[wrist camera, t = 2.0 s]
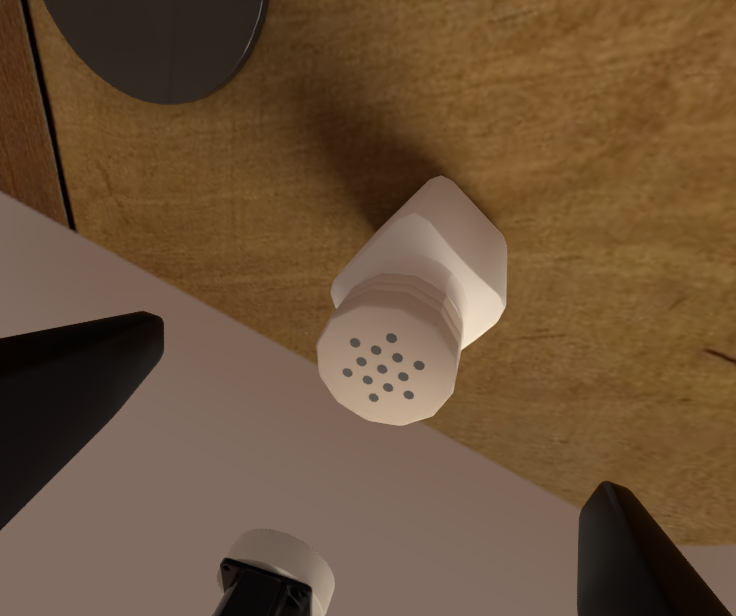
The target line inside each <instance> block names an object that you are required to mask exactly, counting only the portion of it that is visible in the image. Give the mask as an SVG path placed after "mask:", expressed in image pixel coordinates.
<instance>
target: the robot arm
mask: <svg viewBox="0 0 736 616" xmlns="http://www.w3.org/2000/svg"><path fill="white" fill-rule="evenodd" d="M163 352H164V322H163V320H162V318H160V317H159V316H156V315H154V314H151V313H148V312H145V311H140V312H135V313H129V314H124V315H119V316H114V317H109V318H104V319H99V320H93V321H88V322H83V323H78V324H73V325H67V326H63V327H57V328H52V329H47V330H42V331H36V332H31V333H26V334H21V335H16V336H11V337H5V338H0V530H1V529H2V528H3V527H4V526H5V525H6V524H7V523H8V522H9V521H10V520H11V519H12V518H13V517H14V516H15V515H16V514H17V513H18V512H19V511H20V510H21V509H22V508H23V507H24V506H25V505H26V504H27V503H28V502H29V501H30V500H31V499H32V498H33V497H34V496H35V495H36V494H37V493H38V492H39V491H40V490H41V489H42V488H43V487H44V486H45V485H46V484H47V483H48V482H49V481H50V480H51V479H52V478H53V477H54V476H55V475H56V474H57V473H58V472H59V471H60V470H61V469H62V468H63V467H64V466H65V465H66V464H67V463H68V462H69V461H70V460H71V459H72V458H73V457H74V456H75V455H76V454H77V453H78V452H79V451H80V450H81V449H82V448H83V447H84V446H85V445H86V444H87V443H88V442H89V441H90V440H91V439H92V438H93V437H94V436H95V435H96V434H97V433H98V432H99V431H100V430H101V429H102V428H103V427H104V426H105V425H106V424H107V423H108V422H109V421H110V420H111V419H112V418H113V417H114V415H115V414H116V413H117V412H118V411H119V409H121V407H122V406H123V405H124V404H125V402H126V401H127V400H128V399H129V398H130V396H131V395H132V394H133V393H134V391H135V390H136V389H137V388H138V387H139V385H140V384H141V383H142V382H143V380H144V379H145V378H146V377H147V375H148V374H149V373H150V372H151V370H152V369H153V368H154V367H155V366H156V364H157V363H158V362H159V361H160V359H161V357H162V355H163ZM220 569H221V576H222V583H223V590H224V595H223V597H222V599H221V601H220V603H219V605H218V606H217V608H216V610H215V612H214V613H213V615H212V616H312V598H313V590H312V588H311V587H310V586H309V585H307V584H305V583H302V582H299V581H296V580H293V579H290V578H287V577H284V576H281V575H278V574H275V573H273V572H270V571H267V570H264V569H261V568H258V567H255V566H252V565H249V564H246V563H243V562H240V561H237V560H234V559H231V558H224V559H223V561H222V562H221V564H220ZM577 579H578V580H577V610H578V616H732V615H731V614H730V612H729V611H728V610H727V609H726V608H725V606H724V605H723V604H722V603H721V601H720V600H719V599H718V598H717V596H716V595H715V594H714V593H713V591H712V590H711V589H710V588H709V587H708V585H707V584H706V583H705V582H704V581H703V579H702V578H701V577H700V576H699V574H698V573H697V572H696V571H695V569H694V568H693V567H692V566H691V564H690V563H689V562H688V561H687V559H686V558H685V557H684V556H683V555H682V553H681V552H680V551H679V550H678V548H677V547H676V546H675V545H674V543H673V542H672V541H671V540H670V539H669V537H668V536H667V535H666V534H665V532H664V531H663V530H662V529H661V527H660V526H659V525H658V524H657V522H656V521H655V520H654V519H653V518H652V516H651V515H650V514H649V513H648V511H647V510H646V509H645V508H644V506H643V505H642V504H641V503H640V502H639V500H638V499H637V498H636V497H635V495H634V494H633V493H632V492H631V491H630V490H629V489H628V488H626V487H623V486H621V485H618V484H615V483H612V482H610V481H603V482H602V483H600V485H599V486H598V487H597V488H596V490H595V491H594V493H593V494H592V495H591V497H590V498H589V500H588V501H587V502H586V504H585V505H584V507H583V508H582V510H581V513H580V517H579V541H578V578H577Z"/></svg>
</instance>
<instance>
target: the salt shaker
mask: <svg viewBox="0 0 736 616" xmlns="http://www.w3.org/2000/svg"><path fill="white" fill-rule="evenodd" d="M506 280H507V245H506V242H505V239H504V236H503V235H502V234H501V233H500V232H499V230H498V229H497V228H496V227H495V226H494V225H493V224H492V223H491V222H490V221H489V220H488V219H487V217H486V216H485V215H484V214H483V213H482V212H481V211H480V210H479V209H478V208H477V207H476V206H475V204H474V203H473V202H472V201H471V200H470V199H469V198H468V197H467V196H466V195H465V194H464V193H463V191H462V190H461V189H460V188H459V187H458V186H457V185H456V184H455V183H454V182H453V181H452V180H450V179H448V178H446V177H444V176H441V175H440V176H438V177H435V178H433V179H430V180H428V181H427V182H426V183H425V184H424V185H423V186H422V187H421V188H420V189H419V190H418V191H417V192H416V193H415V194H414V195H413V196H412V197H411V198H410V199H409V200H408V201H407V202H406V203H405V204H404V205H403V206H402V207H401V208H400V209H399V210H398V211H397V212H396V213H395V214H394V215H393V216H392V217H391V218H390V219H389V220H388V221H387V222H386V223H385V224H384V225H383V226H382V227H381V228H380V229H378V231H377V232H376V233H375V234H374V235H373V236H372V237H371V238H370V240H369V241H368V242H367V243H366V244H365V245H364V246H363V247H362V249H361V250H360V251H359V252H358V253H357V254H356V255H355V256H354V258H353V259H352V260H351V261H350V262H349V263H348V264H347V265H346V267H345V268H344V269H343V270H342V271H341V272H340V273H339V274H338V276H337V277H336V278H335V279H334V281H333V284H332V288H331V292H330V293H331V296H332V299H333V302H334V305H335V308H336V310H335V312H334V313H333V314H332V316H331V317H330V319H329V321H328V323H327V324H326V326H325V328H324V330H323V331H322V333H321V335H320V337H319V338H318V340H317V342H316V349H317V359H318V370H319V375H320V377H321V378H322V380H323V381H324V383H325V384H326V386H327V387H328V389H329V390H330V392H331V393H332V395H333V396H334V397H335V399H336V400H337V402H339V403H340V404H342V405H343V406H345V407H346V408H348V409H350V410H351V411H353V412H354V413H356V414H358V415H359V416H361V417H363V418H364V419H366V420H369V421H374V422H381V423H387V424H393V425H399V426H402V425H405V424H408V423H411V422H415V421H419V420H422V419H425V418H429V417H432V416H433V415H434V414H435V413H436V412H437V411H438V410H439V408H440V407H441V406H442V405H443V404H444V403H445V401H446V400H447V399H448V398H449V397H450V396H451V395H452V393H453V392H454V386H455V381H456V375H457V370H458V363H459V359H460V354H461V350H462V349H463V348H465V347H466V346H468V345H469V344H470V343H472V342H473V341H475V340H476V339H477V338H478V337H480V336H481V335H482V334H483V333H485V332H486V331H487V330H488V329H490V328H491V327H492V326H493V325H495V324H496V323H497V322H498V320H499V318H500V316H501V314H502V313H503V311H504V309H505V307H506Z"/></svg>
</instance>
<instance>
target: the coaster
mask: <svg viewBox="0 0 736 616" xmlns="http://www.w3.org/2000/svg"><path fill="white" fill-rule="evenodd" d="M44 2H45V4H46V7H47V9H48V11H49V13H50V14H51V16H52V18H53V20H54V22H55V23H56V25H57V27H58V29H59V30H60V32H61V33H62V35H63V36H64V38H65V39H66V41H67V42H68V44H69V45H70V46H71V47H72V49H73V50H74V51H75V52H76V54H77V55H78V56H79V57H80V58H81V59H82V60H83V61H84V62H85V64H86V65H87V66H88V67H89V68H90V69H91V70H92V71H94V72H95V73H96V74H97V75H98V76H99V77H101V78H102V79H103V80H104V81H106V82H107V83H109V84H110V85H112V86H113V87H115V88H116V89H118V90H119V91H121V92H123V93H125V94H127V95H129V96H131V97H134V98H137V99H139V100H142V101H145V102H150V103H156V104H171V105H175V104H184V103H190V102H195V101H198V100H201V99H203V98H206V97H208V96H210V95H212V94H213V93H215V92H217V91H219V90H220V89H221V88H222V87H224V86H225V85H226V84H227V83H229V82H230V81H231V80H232V79H233V78H234V76H235V75H236V74H237V73H238V72H239V71H240V70H241V68H242V67H243V65H244V64H245V62H246V61H247V59H248V58H249V56H250V55H251V53H252V51H253V49H254V47H255V45H256V43H257V41H258V38H259V35H260V32H261V30H262V27H263V24H264V21H265V17H266V12H267V8H268V3H269V0H44Z"/></svg>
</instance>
